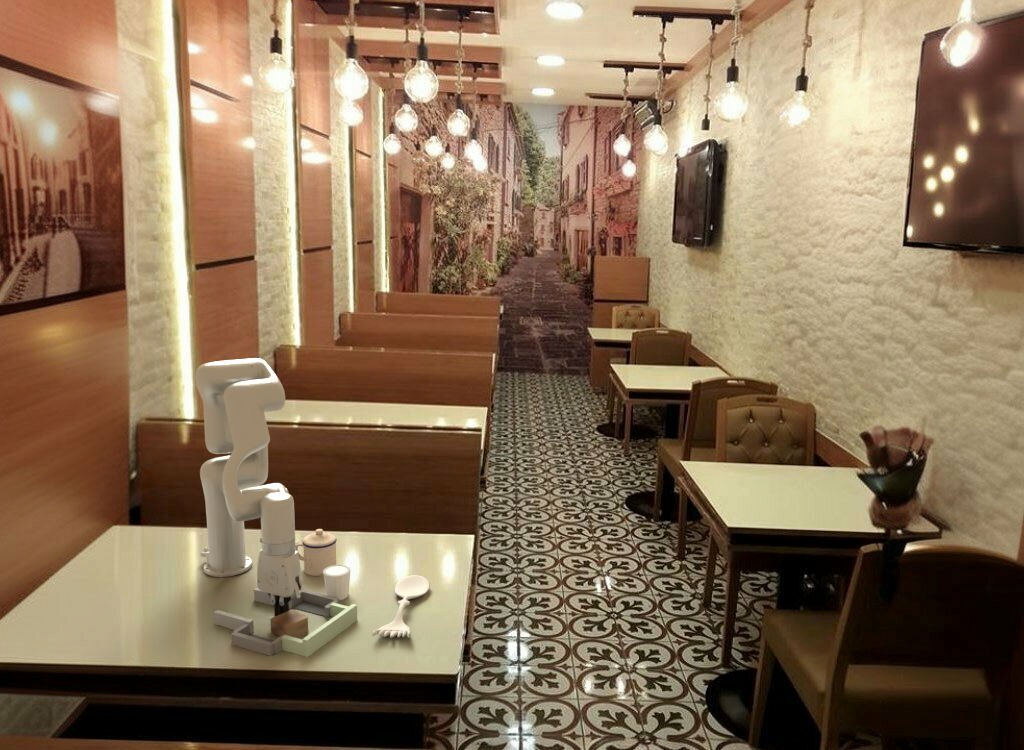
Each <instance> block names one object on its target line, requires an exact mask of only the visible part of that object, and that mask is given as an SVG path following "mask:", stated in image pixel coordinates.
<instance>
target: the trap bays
mask: <svg viewBox="0 0 1024 750" xmlns="http://www.w3.org/2000/svg"><path fill="white" fill-rule="evenodd" d="M299 592H300V596H301V597H300V598H299V599H297V600H292V608H291V609H294V610H295V609H296V610H300V611H302V612H307V613H310V614H314V615H318V616H322V617H324V618H330V617H332V616H331V612H330V604H332V603H337V604H340V601H341V600H340V599H339V598H336V597H332V596H328V595H326V594H325V593H324V594H323V593H320V592H317V591H311V590H307V589H301V590H299ZM283 636H285V634H283V635H282V636H280V637H279V638H277V637H276V639H274V640H273V639H270V638H266V637H262V636H260V635H256V634H254V633H251V634H250V624H247V623H245V624H244V625H242V626H240V627H239V628H237V629H235V630H234V629H233V630H232V633H231V634H230V638H231V639H230V640H231V645H232V646H236V647H238V648H239V647H240V648H243V649H246V650H249V651H253V652H255V653H259V654H263V655H265V656H269V657H270V656H271V657H272V655H274V654H275V655H277V654H279V653H280V652H282V651H283V650H282V637H283Z"/></svg>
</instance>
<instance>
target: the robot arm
mask: <svg viewBox="0 0 1024 750" xmlns="http://www.w3.org/2000/svg"><path fill="white" fill-rule="evenodd" d="M195 383H196V388H197V391H198V393H199V396H200V398H201V401H202V403H203V404H202V406H203V420H204V421H203V423H204V441H205V447H206V449H207V451H208V452H209V453H211V454H215V455H220V454H221V455H223V454H224V456H218V457H217V456H216V457H214V458H213V457H212V458H211V459H208V460H206V461H205V462H204V463H203V464H202V465H201V467H200V470H199V476H200V481H201V485H202V490H203V495H204V501H205V514H206V515H205V516H206V529H207V530H206V531H207V544H208V545H207V546H205V547H204V548H203V551H202V552H200V557H202V558H205V559H206V563H205V564H204V565H203V572H204V574H205V575H207V576H210V577H214V578H215V577H216V578H227V577H232V576H233V577H234V576H236V575H240V574H243V573H245V572H247V571H249V569H251V568H252V566H253V561H252V558H251V557H249V556H247V555H246V554H247V553H246V535H245V522H246V521H251V520H255V519H256V520H257V519H260V530H261V531H260V533H261V536H260V538H259V543H261V549H260V550H259V553H258V558H257V567H256V568H257V569H256V572H257V573H256V584H257V588H258V589H259V590H261V591H263V592H265V593H267V594H268V595H269V596H270V598H271V602H272V603H273V604H274V606H273V609H274V610H273V611H274V617H275V616H278V615H280V614H282V613H285V612H287V611H289V610H290V609H289V602H290V601H291V600H297V599H299V598H300V597H301V596H300V592H299V591H302V586H303V585H302V583H303V579H302V578H303V577H302V567H301V560H299V556H298V553H299V551H298V552H297V551H296V545H297V544H296V526H295V525H296V524H295V522H296V521H295V502H294V501H295V500H294V497H293V495H291V494H290V493H289V490H288V488H286V487H285V485H283V484H282V483H280V482H273V483H267V484H264V483H266V481H267V480H268V475H269V443H270V441H271V436H270V432H269V428H268V424H267V420H266V415H265V413H272V412H278V411H281V410H282V409H284V406H285V403H286V394H285V389H284V387H283V386H284V385H283V384H282V383H281V380H280V379H279V377H278V376H277V374H276V373H275V372H274V370H273V369H272V368H271V366H270V365H269V364H268V362H266V360H264V359H262V358H257V357H253V358H251V357H250V358H241V359H225V360H218V361H216V360H215V361H211V362H209V361H208V362H206V363H202V364H201V365H199V366H198V368H197V369H196V371H195ZM225 454H229V455H225Z"/></svg>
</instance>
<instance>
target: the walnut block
mask: <svg viewBox="0 0 1024 750" xmlns="http://www.w3.org/2000/svg"><path fill="white" fill-rule="evenodd" d="M269 619H270V620H269V621H270V622H269V623H270V634H271V635H272V636H274V637H275V638H276V639H277V638H279V637H280V636H282V635H283V634H285V635H288V636H291V637H294V638H298V639H299V638H300V637H302V636H304V635H306V634H308V633H309V617H308V616H306V615H304V614H302V613H300V612H298V611H296V610H295V609H294V608H291V609H289V611H287V612H285V613H282V614H280V615H278V616H275V615H274V617H271V618H269Z"/></svg>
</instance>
